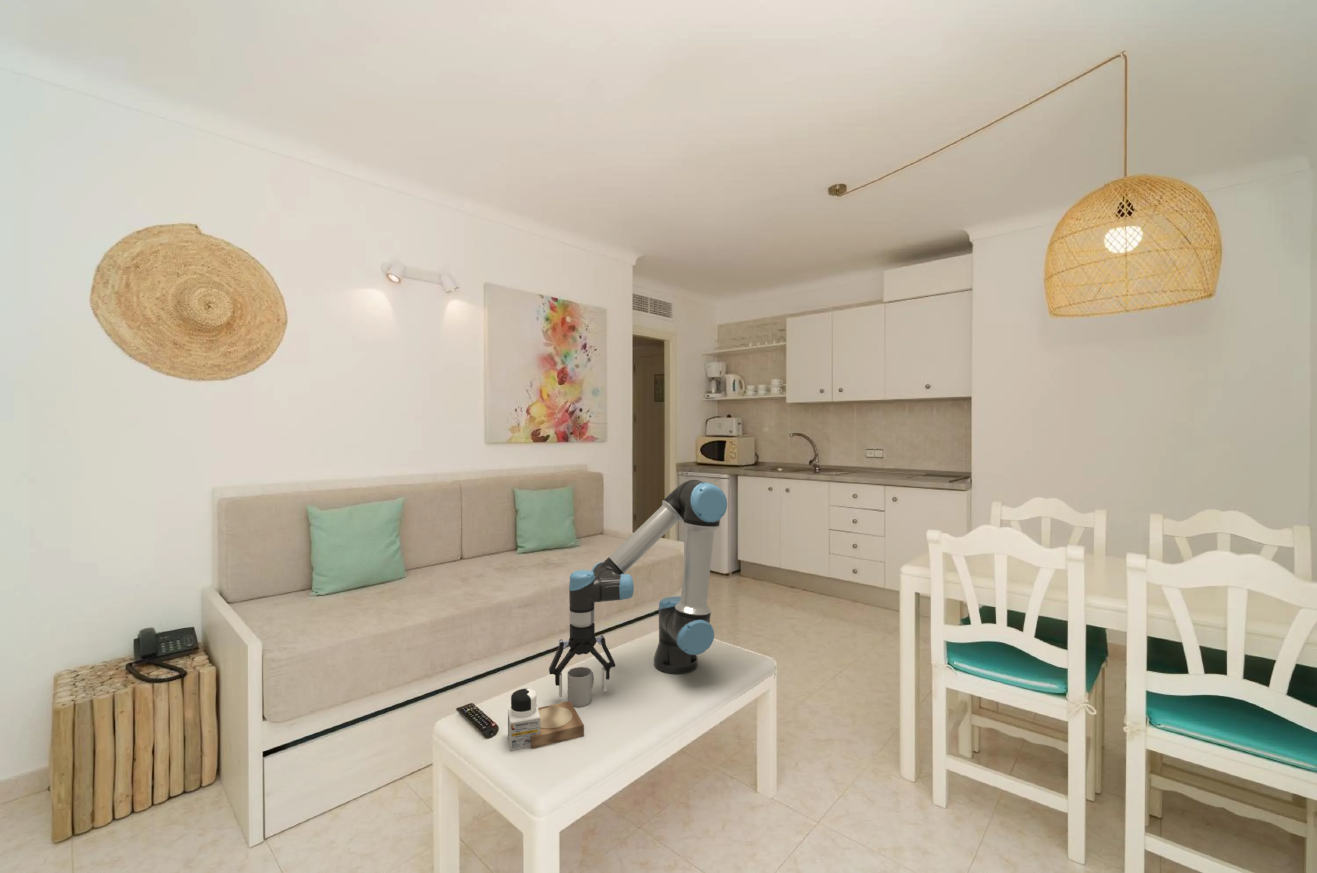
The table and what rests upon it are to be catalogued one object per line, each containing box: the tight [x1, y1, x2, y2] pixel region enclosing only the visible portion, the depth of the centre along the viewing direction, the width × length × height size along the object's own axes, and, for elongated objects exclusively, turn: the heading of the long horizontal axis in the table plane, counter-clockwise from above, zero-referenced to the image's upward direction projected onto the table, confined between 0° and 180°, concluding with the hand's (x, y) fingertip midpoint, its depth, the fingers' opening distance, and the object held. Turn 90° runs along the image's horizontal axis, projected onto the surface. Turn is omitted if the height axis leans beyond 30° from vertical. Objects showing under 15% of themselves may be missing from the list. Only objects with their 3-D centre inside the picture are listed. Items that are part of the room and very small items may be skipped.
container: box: [507, 688, 541, 751], centre depth 147 cm, size 8×8×13 cm
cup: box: [567, 666, 595, 708], centre depth 169 cm, size 7×10×9 cm
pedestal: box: [530, 700, 585, 750], centre depth 153 cm, size 14×14×3 cm
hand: (582, 692), depth 169 cm, fingers open, 12 cm apart
